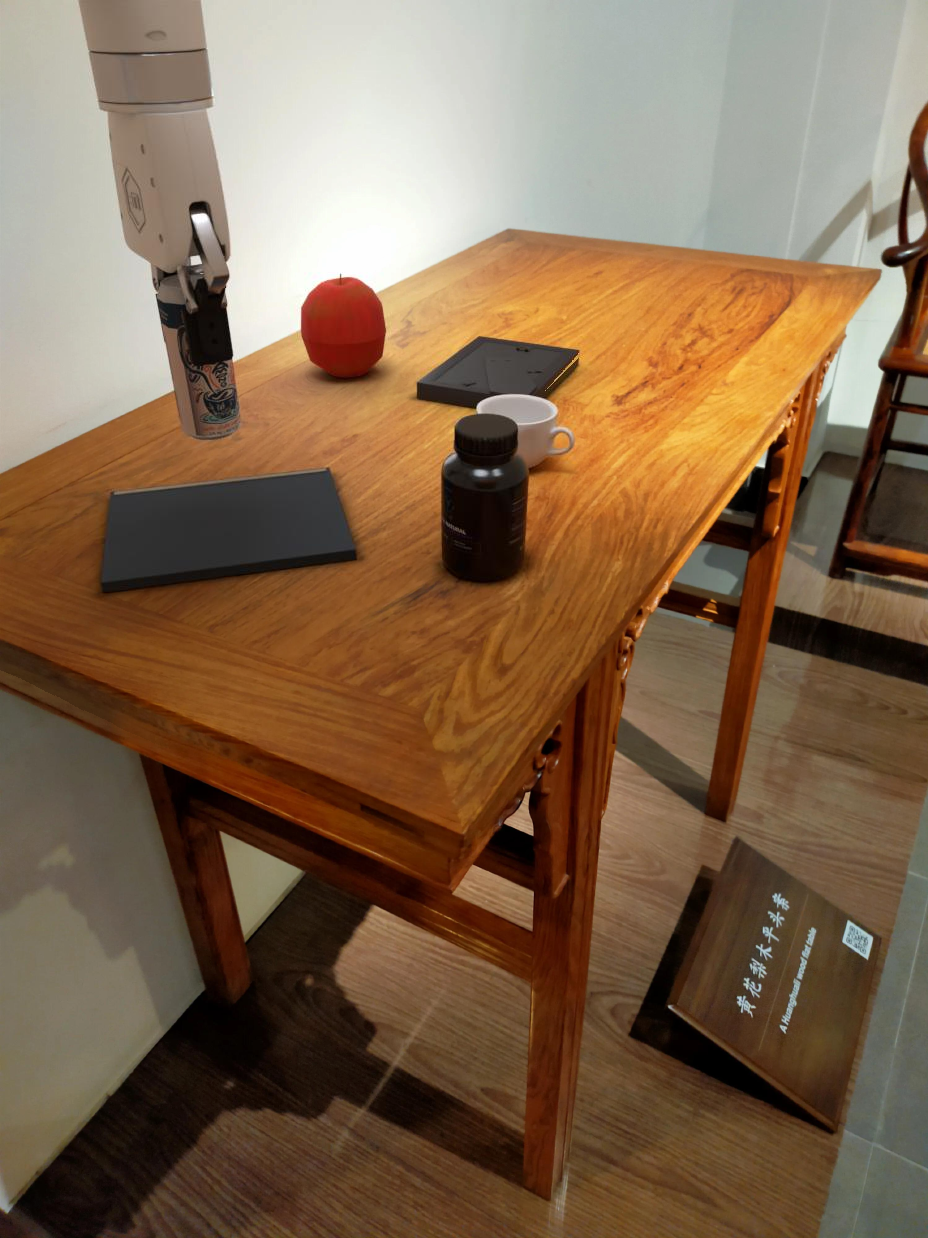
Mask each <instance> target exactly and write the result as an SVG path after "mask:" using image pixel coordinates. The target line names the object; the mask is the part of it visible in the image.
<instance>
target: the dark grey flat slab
mask: <svg viewBox="0 0 928 1238" xmlns="http://www.w3.org/2000/svg"><path fill="white" fill-rule="evenodd" d="M346 517H347V516H346V514H345V512H344V508H343V506H342V502H341V499H340V496H339V493H338V490H337V487H336V484H335V481H334V478H333V475H332V472H331V468H330V467H329V466H328V467H326V466H325V467H319V468H310V469H301V470H292V471H284V472H282V471H281V472H274V473H265V474H256V475H248V476H237V477H229V478H228V477H227V478H220V479H210V480H203V481H202V480H201V481H193V482H192V481H191V482H185V483H174V484H166V485H165V484H164V485H158V486H150V487H149V486H147V487H139V488H131V489H122V490H113V491H110V493H109V501H108V511H107V520H106V521H107V522H106V527H105V528H106V530H105V539H104V547H103V555H102V565H101V574H100V575H101V576H100V587H101V590H102V593H104V594H105V593H113V592H121V591H127V590H135V589H136V590H137V589H142V588H151V587H158V586H166V585H173V584H180V583H181V584H182V583H188V582H195V581H202V580H203V581H204V580H211V579H219V578H226V577H233V576H241V575H247V574H255V573H262V572H271V571H277V570H285V569H293V568H301V567H307V566H308V567H309V566H315V565H323V564H329V563H330V564H331V563H336V562H337V563H338V562H347V561H352V560H357V558H358V557H357V549H356V546H355V543H354V539H353V536H352V533H351V529H350V526H349V523H348V520H347V518H346Z"/></svg>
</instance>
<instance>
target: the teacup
mask: <svg viewBox="0 0 928 1238" xmlns="http://www.w3.org/2000/svg"><path fill="white" fill-rule="evenodd" d="M475 412H476V413H475V414H481V413H484V414H485V413H489V414H498V415H502V416H505V417H508V418H510V419H512V420H513V421H515V422H516V424H517V426H518V451H517V453H518V454H520V455H521V456H522V457H523V459H524V460H525V462H526V463H527V466H528V469H529V470H530V469H531V468H533V467H535V466H537V465H539V464H541V463H542V462H544V460H545V459H546V458H547V457H555V456H561V455H565V454H567V453H569V452H570V451H571V450H572V449H573V448H574V446H575V442H576V441H575V440H576V439H575V435H574V434H573V432H572V431H571V430H570V428H568V427H565V426H557V424H558V413H559V410H558V407H557V406H556V404H554V402H551V401H549V400H548V399H546V398H545V399H543V398H539V397H535V396H530V395H520V394H508V395H499V396H493V397H490V398H487V399H485V400H483V401H481V402H480V403H479V404H478V405H477V408H476V411H475ZM560 434H565V435H566V436H567V437H568V439H569V440H568V441H569V443H568V446H567V447H566V448H555V447H554V443H555V439H556V437H557V436H558V435H560Z"/></svg>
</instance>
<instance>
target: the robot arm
mask: <svg viewBox="0 0 928 1238" xmlns="http://www.w3.org/2000/svg"><path fill="white" fill-rule="evenodd" d="M78 6H79V12H80V16H81V21H82V26H83V31H84V36H85V41H86V46H87V51H88V57H89V62H90V63H89V64H90V67H91V72H92V77H93V83H94V86H95V87H94V88H95V92H96V93H95V94H96V98H97V103H98V107H99V110H100V111H103V112H107V125H108V127H107V128H108V137H109V146H110V147H109V148H110V155H111V162H112V168H113V175H114V182H115V188H116V189H115V190H116V195H117V200H118V209H119V215H120V220H121V227H122V232H123V237H124V241H125V244H126V245H127V247H128V248H129V250H131V251H132V252H133V253H134V254H136V255H137V256H139V257H141V259H144V260H145V261H147V262H148V263H149V264H150V272H151V280H152V285H153V288H154V290H155V292H156V293H155V299H156V306H157V310H158V315H159V320H160V326H161V331H162V337H163V341H164V343H165V338H164V333H163V328H162V322H161V317H160V312H159V306H158V301H157V293H158V290H159V287H160V282H161V281H162V280H163V279H164V278H166V277H170V276H174V275H177V274H178V277H179V281H180V285H181V289H182V293H183V297H184V301H185V305H186V308H187V311H184V312H182V315H183V321H184V326H185V332H186V338H187V344H188V349H189V355H190V361H191V363H192V364H193V365H195V366H197V367H199V366H204V365H209V364H213V363H218V362H223V361H228V360H231V359H232V360H233V358H234V350H233V342H232V336H231V330H230V322H229V315H228V309H227V308H228V298H227V294H226V289H227V284H228V282H229V281H230V278H231V277H230V270H229V267H228V264H227V262H228V261H229V260H230V257H231V256H232V246H231V234H230V233H231V232H230V225H229V217H228V216H229V215H228V211H227V204H226V199H225V198H226V197H225V192H224V187H223V186H224V185H223V181H222V175H221V170H220V165H219V159H218V155H217V149H216V145H215V140H214V135H213V131H212V127H211V122H210V119H209V113H208V110H207V109H210V108H213V107H215V106H216V103H215V95H214V90H213V89H214V88H213V82H212V75H211V74H212V73H211V68H210V67H211V66H210V59H209V53H208V49H207V48H208V46H207V39H206V31H205V30H206V29H205V22H204V13H203V7H202V0H78ZM197 256H199V260H200V261H201V263H198V264H192V259H191V258H192V257H197ZM194 274H202V275H203V278H201V279H197V282H196V286H195V290H194V287H193V283H192V279H191V275H194Z"/></svg>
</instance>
